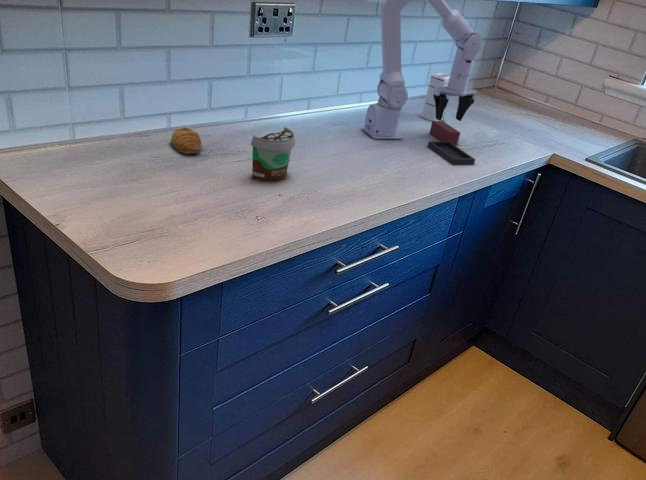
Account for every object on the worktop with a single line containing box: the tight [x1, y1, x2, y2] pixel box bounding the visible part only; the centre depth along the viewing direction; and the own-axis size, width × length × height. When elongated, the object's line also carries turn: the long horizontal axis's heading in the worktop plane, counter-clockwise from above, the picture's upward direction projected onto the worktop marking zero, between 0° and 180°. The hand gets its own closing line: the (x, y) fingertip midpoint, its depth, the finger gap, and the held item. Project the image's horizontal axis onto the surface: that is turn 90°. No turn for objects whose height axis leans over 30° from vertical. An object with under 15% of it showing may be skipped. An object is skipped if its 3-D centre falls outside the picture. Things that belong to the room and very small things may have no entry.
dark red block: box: [429, 120, 461, 146], centre depth 185 cm, size 4×10×4 cm, turn 26°
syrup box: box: [421, 72, 450, 122], centre depth 199 cm, size 6×6×14 cm
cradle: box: [427, 140, 476, 166], centre depth 174 cm, size 8×14×2 cm, turn 26°
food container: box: [250, 126, 296, 183], centre depth 135 cm, size 12×6×10 cm, turn 148°
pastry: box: [170, 126, 202, 155], centre depth 142 cm, size 9×7×4 cm
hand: (448, 119), depth 183 cm, fingers open, 7 cm apart
